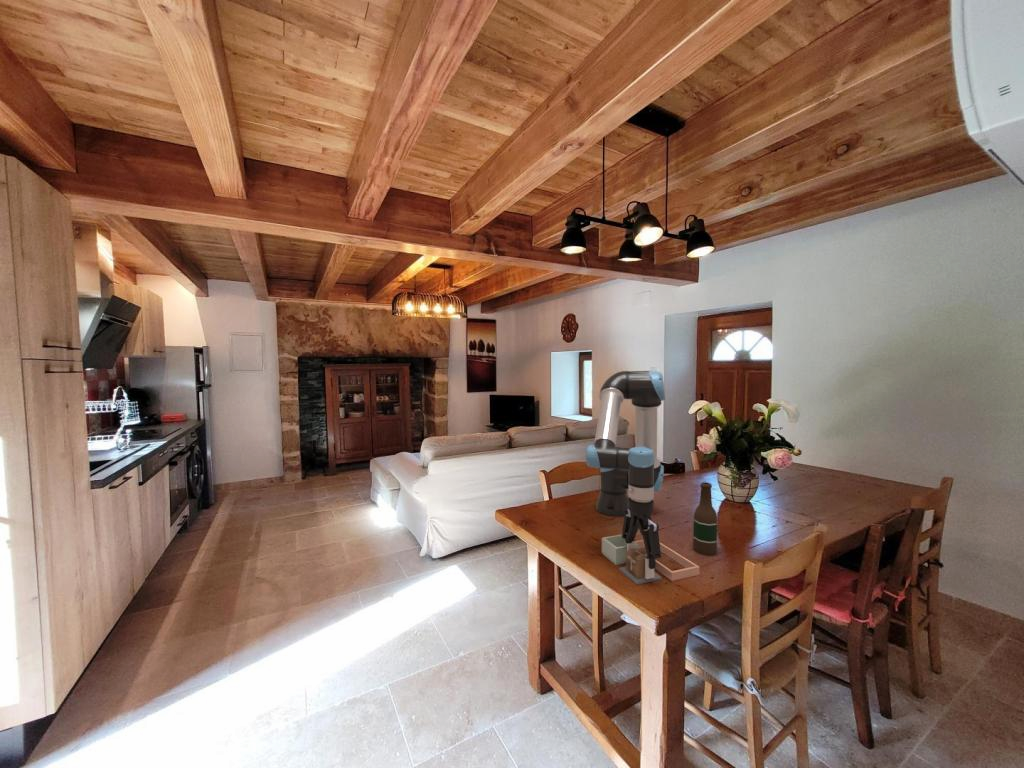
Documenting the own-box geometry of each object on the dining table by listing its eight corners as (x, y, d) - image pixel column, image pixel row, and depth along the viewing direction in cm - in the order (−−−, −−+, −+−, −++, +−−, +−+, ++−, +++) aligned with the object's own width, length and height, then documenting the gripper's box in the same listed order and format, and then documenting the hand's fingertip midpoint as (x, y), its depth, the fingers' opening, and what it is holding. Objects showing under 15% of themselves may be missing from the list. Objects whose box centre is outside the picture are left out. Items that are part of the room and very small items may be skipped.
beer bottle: (710, 558, 129) (711, 488, 128) (688, 549, 136) (689, 482, 135) (721, 551, 134) (723, 483, 133) (699, 543, 140) (700, 478, 139)
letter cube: (625, 569, 121) (625, 550, 121) (641, 566, 123) (642, 547, 123) (637, 579, 115) (637, 559, 115) (654, 575, 117) (654, 556, 117)
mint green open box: (601, 553, 133) (601, 537, 133) (622, 549, 136) (622, 534, 136) (616, 565, 125) (616, 548, 125) (638, 560, 128) (638, 544, 128)
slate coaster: (619, 569, 122) (619, 567, 122) (642, 565, 125) (642, 563, 125) (637, 584, 114) (637, 582, 114) (661, 579, 117) (661, 577, 117)
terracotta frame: (628, 549, 136) (628, 542, 136) (652, 544, 139) (652, 537, 139) (671, 581, 116) (672, 572, 116) (699, 574, 119) (699, 566, 119)
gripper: (610, 489, 127) (610, 556, 128) (653, 511, 107) (652, 591, 108) (629, 487, 130) (629, 552, 131) (675, 508, 110) (674, 586, 111)
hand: (640, 570), depth 119 cm, fingers open, 8 cm apart
